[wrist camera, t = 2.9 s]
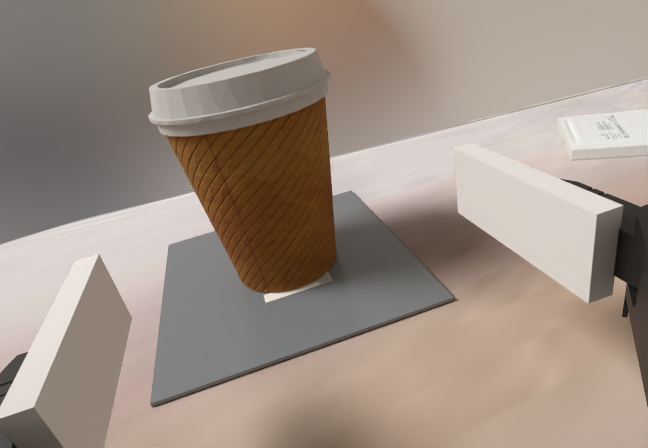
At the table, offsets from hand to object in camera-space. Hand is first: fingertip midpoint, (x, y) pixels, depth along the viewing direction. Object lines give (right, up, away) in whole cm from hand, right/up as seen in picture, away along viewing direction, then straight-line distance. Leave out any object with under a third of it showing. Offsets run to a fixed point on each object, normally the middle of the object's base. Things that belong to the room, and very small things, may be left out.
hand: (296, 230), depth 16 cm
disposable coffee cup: (-1, -2, +12) cm, 12 cm away
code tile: (-2, -3, +12) cm, 12 cm away
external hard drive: (+27, +7, +19) cm, 33 cm away
